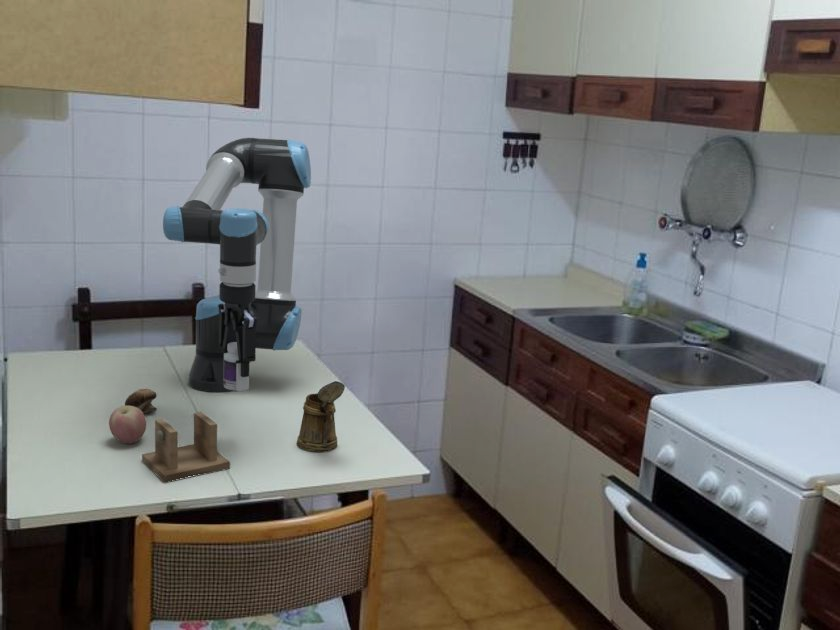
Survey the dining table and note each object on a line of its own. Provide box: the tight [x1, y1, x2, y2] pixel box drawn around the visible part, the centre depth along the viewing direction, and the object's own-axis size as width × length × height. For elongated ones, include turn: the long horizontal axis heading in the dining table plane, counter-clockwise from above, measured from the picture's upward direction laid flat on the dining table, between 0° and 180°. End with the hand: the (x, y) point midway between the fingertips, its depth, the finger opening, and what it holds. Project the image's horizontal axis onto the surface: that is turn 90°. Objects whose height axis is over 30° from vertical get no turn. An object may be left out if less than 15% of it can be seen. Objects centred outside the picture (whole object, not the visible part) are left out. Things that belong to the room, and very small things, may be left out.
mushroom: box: [124, 388, 157, 414], centre depth 211 cm, size 8×8×6 cm
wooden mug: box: [296, 380, 346, 453], centre depth 195 cm, size 9×14×18 cm, turn 27°
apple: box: [108, 405, 147, 445], centre depth 193 cm, size 8×8×8 cm
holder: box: [141, 411, 231, 483], centre depth 183 cm, size 12×14×10 cm
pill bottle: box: [224, 342, 239, 391], centre depth 193 cm, size 5×5×10 cm
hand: (236, 385), depth 195 cm, fingers closed on pill bottle, 5 cm apart
